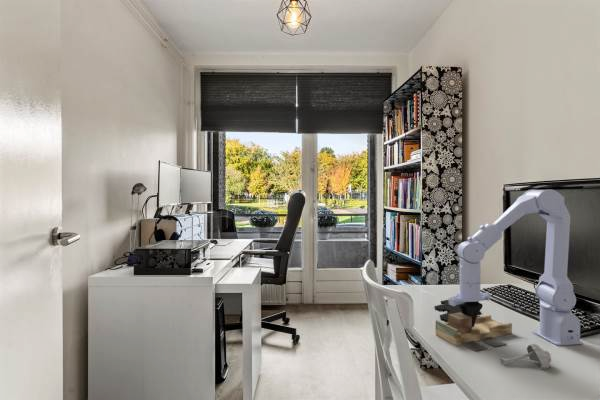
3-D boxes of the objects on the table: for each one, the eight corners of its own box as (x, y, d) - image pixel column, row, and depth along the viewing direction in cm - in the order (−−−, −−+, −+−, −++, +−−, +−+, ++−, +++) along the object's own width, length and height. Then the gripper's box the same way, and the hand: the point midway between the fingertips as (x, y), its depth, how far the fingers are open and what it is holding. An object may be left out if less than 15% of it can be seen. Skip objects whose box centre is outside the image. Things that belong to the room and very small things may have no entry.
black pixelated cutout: (497, 335, 106) (476, 304, 134) (497, 332, 106) (476, 302, 134) (440, 330, 110) (432, 301, 139) (440, 327, 110) (432, 298, 139)
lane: (489, 323, 114) (489, 310, 114) (527, 339, 102) (528, 325, 102) (435, 334, 106) (435, 320, 106) (470, 353, 94) (470, 337, 94)
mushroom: (494, 344, 91) (540, 338, 90) (494, 359, 92) (540, 353, 92) (510, 364, 84) (560, 357, 84) (510, 380, 85) (559, 373, 85)
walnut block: (460, 326, 107) (459, 312, 107) (471, 332, 103) (471, 317, 103) (448, 328, 106) (448, 314, 106) (459, 334, 102) (459, 319, 102)
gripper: (477, 276, 112) (477, 318, 112) (441, 280, 107) (441, 324, 107) (496, 281, 105) (496, 326, 106) (459, 286, 100) (458, 333, 100)
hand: (469, 326), depth 106 cm, fingers closed
